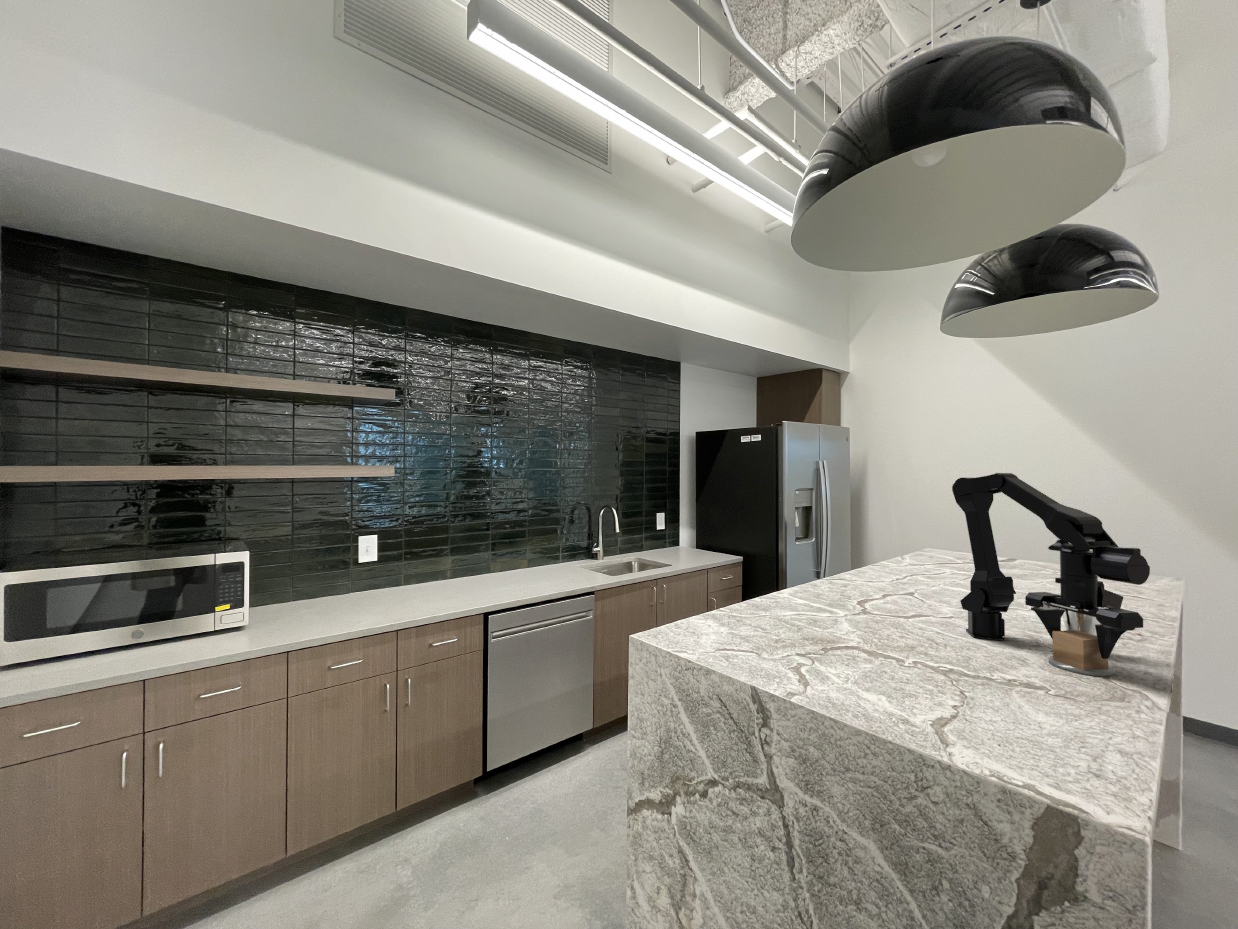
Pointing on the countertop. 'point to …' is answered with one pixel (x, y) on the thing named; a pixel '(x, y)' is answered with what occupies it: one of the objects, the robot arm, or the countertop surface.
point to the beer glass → (1080, 622)
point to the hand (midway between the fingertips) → (1080, 650)
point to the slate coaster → (1097, 673)
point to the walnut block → (1078, 650)
